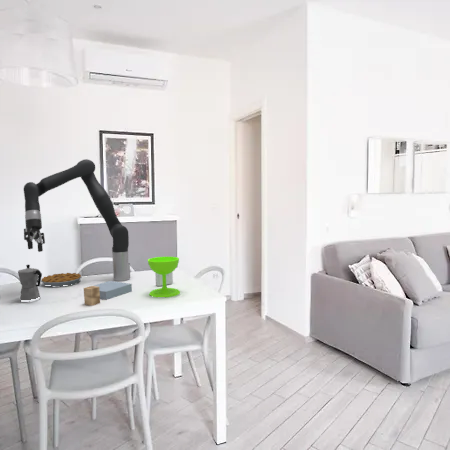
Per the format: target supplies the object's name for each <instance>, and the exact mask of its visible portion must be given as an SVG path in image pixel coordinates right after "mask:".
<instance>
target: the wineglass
mask: <svg viewBox="0 0 450 450" xmlns="http://www.w3.org/2000/svg"><path fill="white" fill-rule="evenodd" d="M147 262H148V263H147V264H148V266H149V268H150V269H151V271H152V272H153V273H154V274H155V273H157V274H160V275H162V282H163V285H162V286H161V287H160V288H156V289H152V290H151V291H150V292H149V294H148V295H149V296H150V295H151V296H150V297H152V296H153V297H152V298H158V297H165V298H172V297H176V296H178V295H180V293H181V291H180V289H178V288H175V287H174V288H173V287H167V285H166V274H169V273H171V272H172V273H173V272H175V270H176V269H177V267H178V266H179V262H180V257H176V256H156V257H151V258H150V257H149V258H148V259H147Z"/></svg>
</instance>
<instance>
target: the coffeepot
mask: <svg viewBox="0 0 450 450" xmlns="http://www.w3.org/2000/svg"><path fill="white" fill-rule="evenodd" d="M25 266H26V268H23V269H19V270H18V271H17V274H18V278H19V283H20V285H21V290H20V299H21V300H31V299H36V298H38V297H40V298H41V295H40V291H39V287H40V286H41V283H42V282H41V280H42V278H43V277H42V275H43V273H42V272H41V271H40V270H39V268H32V267H31V264H26V265H25ZM20 299H19V300H20Z"/></svg>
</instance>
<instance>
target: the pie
mask: <svg viewBox="0 0 450 450" xmlns="http://www.w3.org/2000/svg"><path fill="white" fill-rule="evenodd" d="M81 278H82V275H81V274H80V272H79V273H76V272H73V273H71V272H66V273H54V274H52V275H49V274H48V275H47V276H43V277H41V282H40V283H42V284H43V285H51V286H63V285H70V286H72V285H71V284H74V285H76V284H75V283H77V284H78V283H79V282H80V280H81Z"/></svg>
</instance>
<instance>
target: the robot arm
mask: <svg viewBox="0 0 450 450" xmlns="http://www.w3.org/2000/svg"><path fill="white" fill-rule="evenodd" d="M95 171H96V164H95V163H94V161H92V160H90V159H88V158H87V159H82V160H80V161H78V162H77V163H76V164H75V165H73V166H72V167H70V168H68V169H65V170H61V171H59V172H56V173H53V174H51V175H48V176H46V177H44V178H42V179H41V180H40V181H39V182H37V183H35V182H32V181H30V182H27V183H25V184H24V186H23V196H24V209H25V211H24V212H25V215H24V217H25V218H24V219H25V228H23V239H24V241H26V242H27V249H28V250H33V249H34V243H33V241H34V242H35V243H36V244H37V251H38V253H40V252H43V251H44V250H43V249H44V248H43V245H44V244H45V243H46V239H45V233H44V232H41V229H42V228H43V226H42V225H43V224H42V213H41V207H40V206H41V205H40V200H39V199H40V197H41V196H42V195H44V194H45V193H47V192H49V191H52V190H54V189H55V188H58V187H60V186H63V185H64V184H66V183H69V182H70V181H72V180H73V181H74V180H75V179H78V178H81V180H82V183H84V185H85V187H86V188H87V190H88V193H89V195H90V198H91V199H92V202H93V203H94V206H95V207H96V208H97V211H98V212H99V214H100V216H101V217H102V219H103V220H104V221H105V223H106V226H107V229H108V231H109V234H110V236H111V237H112V247H111V251H112V255H111V256H112V271H113V273H112V275H113V281H114V282H124V281H128V280H129V279H131V265H130V264H131V263H130V262H129V245H130V244H129V243H130V242H129V239H130V237H129V236H130V235H129V231H128V228H127V227H126V226H124V225H123V224H122V223H121V222H120V219H119V218H118V217H117V214H116V210H115V208H114V207H115V206H114V204H113V201H112V199H111V197H110V196H109V194H108V192H107V190H106V189H105V188H104V187H103V186H102V185H101V183H100V181H98V179H97V177H96V174H95Z"/></svg>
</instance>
